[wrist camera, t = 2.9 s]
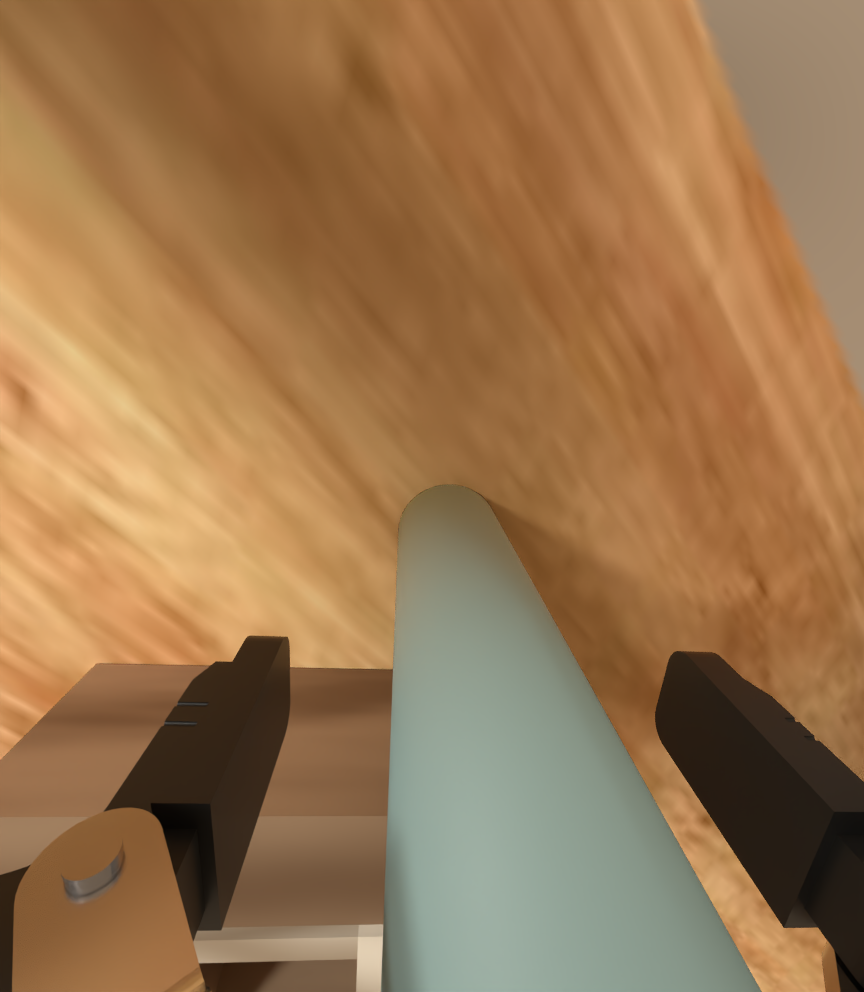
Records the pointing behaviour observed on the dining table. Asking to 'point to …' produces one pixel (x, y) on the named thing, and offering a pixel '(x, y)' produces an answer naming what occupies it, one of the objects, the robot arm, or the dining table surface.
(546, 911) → the peg
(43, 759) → the socket block
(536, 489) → the dining table surface
